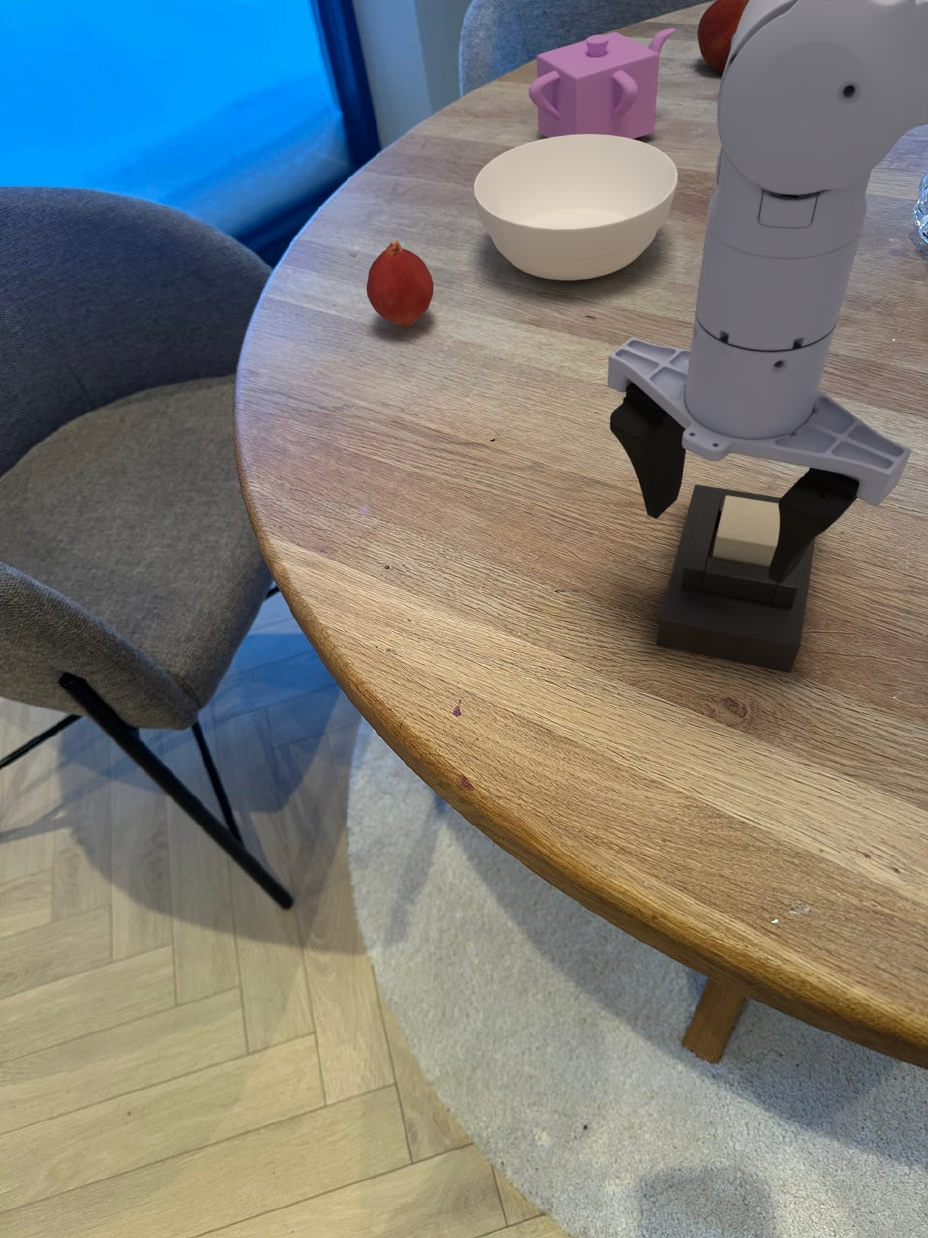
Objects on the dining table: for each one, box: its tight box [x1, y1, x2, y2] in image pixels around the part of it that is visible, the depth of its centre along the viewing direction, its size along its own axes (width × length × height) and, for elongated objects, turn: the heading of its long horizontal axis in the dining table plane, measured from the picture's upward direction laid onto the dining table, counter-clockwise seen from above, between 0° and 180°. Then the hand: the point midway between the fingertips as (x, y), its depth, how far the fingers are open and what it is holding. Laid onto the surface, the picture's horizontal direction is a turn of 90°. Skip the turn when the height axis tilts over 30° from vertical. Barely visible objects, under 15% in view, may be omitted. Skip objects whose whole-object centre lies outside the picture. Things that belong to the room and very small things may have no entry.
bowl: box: [473, 134, 679, 281], centre depth 79 cm, size 18×18×7 cm
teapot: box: [527, 27, 676, 140], centre depth 93 cm, size 18×14×10 cm
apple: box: [696, 0, 749, 72], centre depth 103 cm, size 7×8×8 cm
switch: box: [712, 496, 780, 568], centre depth 51 cm, size 4×4×2 cm
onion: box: [366, 240, 435, 328], centre depth 74 cm, size 6×6×8 cm
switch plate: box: [655, 484, 816, 674], centre depth 53 cm, size 12×8×4 cm, turn 161°
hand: (720, 537), depth 46 cm, fingers open, 7 cm apart
